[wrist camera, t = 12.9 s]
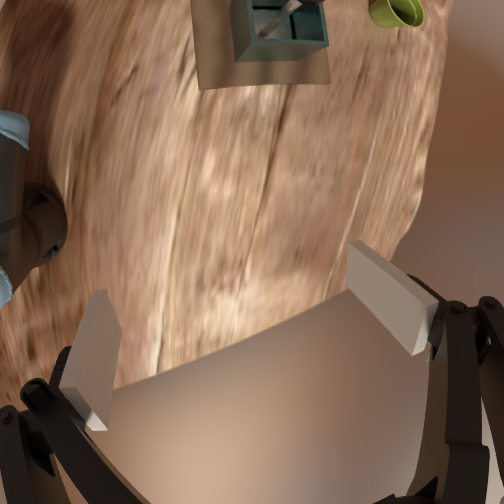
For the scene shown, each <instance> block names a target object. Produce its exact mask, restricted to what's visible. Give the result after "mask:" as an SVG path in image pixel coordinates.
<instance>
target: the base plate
mask: <svg viewBox="0 0 504 504" xmlns="http://www.w3.org/2000/svg"><path fill="white" fill-rule="evenodd" d="M232 2H233V0H191V13H192V25H193V36H194V47H195V58H196V68H197V78H198V87H199V91H201V90H209V89H218V88H228V87H239V86H253V85H275V84H330V73H329V64H328V55H327V47H325V48H323V49H321V50H319V51H317V52H315V53H312V54H310V55H308V56H306V57H304V58H302V59H300V60H298V61H259V62H238V63H235V58H234V49H233V39H232V30H231V21H230V11H229V8H230V6H231V4H232Z"/></svg>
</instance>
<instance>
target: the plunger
mask: <svg viewBox="0 0 504 504" xmlns="http://www.w3.org/2000/svg"><path fill="white" fill-rule="evenodd" d="M324 1H325V0H289V1H288V2H287V3H286V4H285V5H284V6H283V7H282V8H281V10H253V17H254V25H255V34H256V39H292V34H291V26H290V19H289V15H290V14H291V13H293V12H294V11H295V10H296V9H297V8H298V7H299V6H301V5H302V4H304V5H307V6H317V5H319V4H321V3H322V2H324Z"/></svg>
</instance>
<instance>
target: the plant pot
mask: <svg viewBox="0 0 504 504" xmlns="http://www.w3.org/2000/svg"><path fill="white" fill-rule="evenodd" d="M369 13H370V15H371V17H372V18H373V21H374V22H375V23H376V24H377V25H379V26H381V27H383V28H390V27H402V26H406V27H410V28H419V27H421V26H422V25H423V23H424V20H425V14H424V10H423V7H422V5H421V3H420V1H419V0H377V1H375V2H374V3H372V4H371V5H370V7H369Z"/></svg>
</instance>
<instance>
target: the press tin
mask: <svg viewBox="0 0 504 504" xmlns="http://www.w3.org/2000/svg"><path fill="white" fill-rule="evenodd" d="M288 1H289V0H233V2H232V4H231V6H230V8H229V11H230V21H231V30H232V39H233V49H234V58H235V63H238V62H259V61H298V60H300V59H302V58H304V57H306V56H308V55H310V54H312V53H315V52H317V51H319V50H321V49H323V48H325V47H328V46H329V41H328V34H327V27H326V20H325V14H324V8H323V2H322V3H321V4H319V5H317V6H307V5H304V4H302V5H301V6H299V7H298V8H297V9H296V10H295V11H294V12H293V13H291V14H290V15H289V19H290V26H291V34H292V39H256V34H255V25H254V17H253V10H281V8H282V7H283V6H284V5H285V4H286V3H287V2H288Z"/></svg>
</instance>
